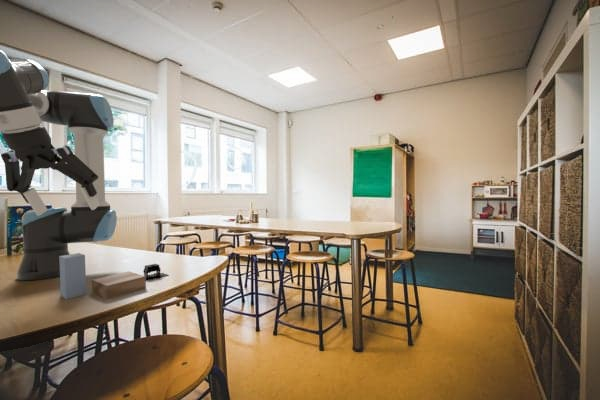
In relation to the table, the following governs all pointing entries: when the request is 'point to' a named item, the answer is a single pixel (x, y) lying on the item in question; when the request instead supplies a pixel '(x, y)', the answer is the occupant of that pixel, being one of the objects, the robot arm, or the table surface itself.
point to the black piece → (150, 269)
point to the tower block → (72, 275)
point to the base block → (118, 284)
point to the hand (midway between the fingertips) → (69, 210)
